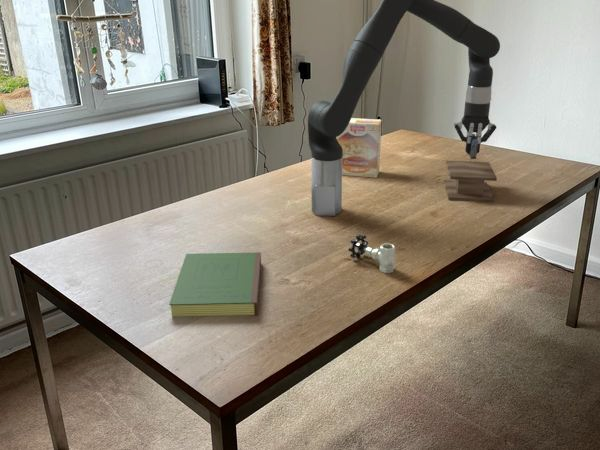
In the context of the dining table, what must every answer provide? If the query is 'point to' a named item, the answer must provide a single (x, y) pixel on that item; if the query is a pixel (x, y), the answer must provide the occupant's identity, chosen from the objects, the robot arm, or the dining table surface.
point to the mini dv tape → (473, 147)
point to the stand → (469, 181)
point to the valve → (375, 253)
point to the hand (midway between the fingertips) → (471, 153)
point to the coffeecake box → (361, 147)
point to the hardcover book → (217, 285)
